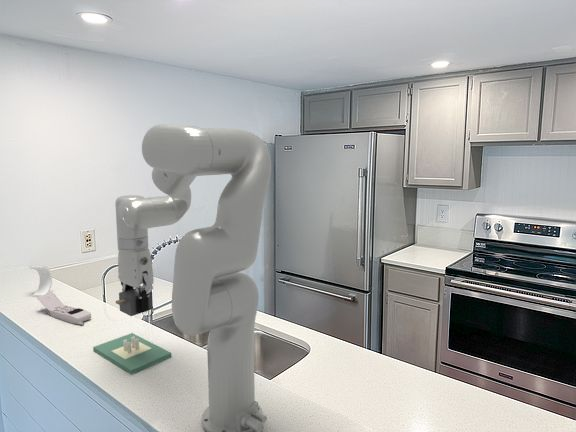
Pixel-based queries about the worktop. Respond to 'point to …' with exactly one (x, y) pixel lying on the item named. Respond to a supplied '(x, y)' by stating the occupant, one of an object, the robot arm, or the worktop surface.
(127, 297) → the block
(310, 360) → the worktop surface
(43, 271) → the headphone stand
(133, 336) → the header board
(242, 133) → the robot arm
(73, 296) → the worktop surface
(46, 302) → the mobile phone
